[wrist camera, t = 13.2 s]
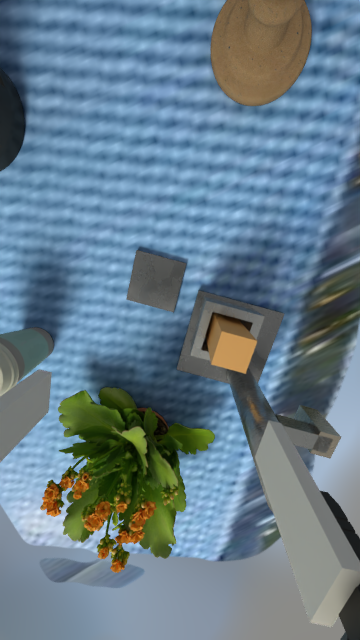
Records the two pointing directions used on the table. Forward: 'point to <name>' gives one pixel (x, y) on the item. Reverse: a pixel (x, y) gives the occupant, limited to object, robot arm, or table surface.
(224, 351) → the tan rectangular bar
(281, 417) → the grey post stand
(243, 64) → the candle holder
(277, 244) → the table surface
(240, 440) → the table surface
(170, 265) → the plate
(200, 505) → the table surface
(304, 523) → the robot arm
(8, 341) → the coffee cup
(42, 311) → the table surface
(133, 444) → the potted flower
